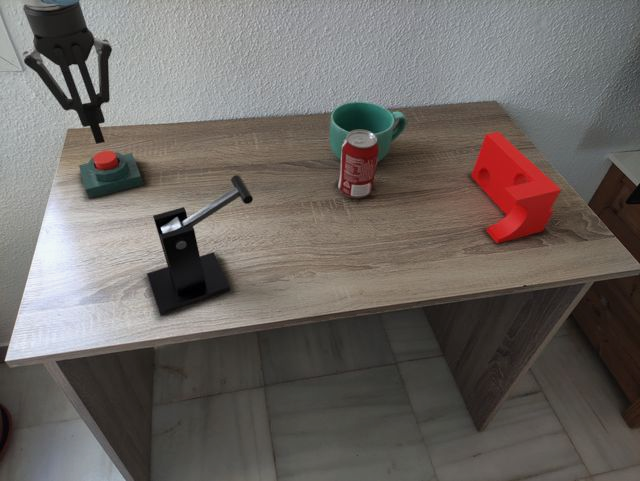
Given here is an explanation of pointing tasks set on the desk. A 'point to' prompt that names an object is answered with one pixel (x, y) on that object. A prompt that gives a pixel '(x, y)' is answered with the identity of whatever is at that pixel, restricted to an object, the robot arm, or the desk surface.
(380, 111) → the mug
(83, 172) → the button box
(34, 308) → the desk surface
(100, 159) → the button
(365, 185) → the soda can
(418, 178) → the desk surface
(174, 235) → the bracket
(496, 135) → the bracket
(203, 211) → the lever
